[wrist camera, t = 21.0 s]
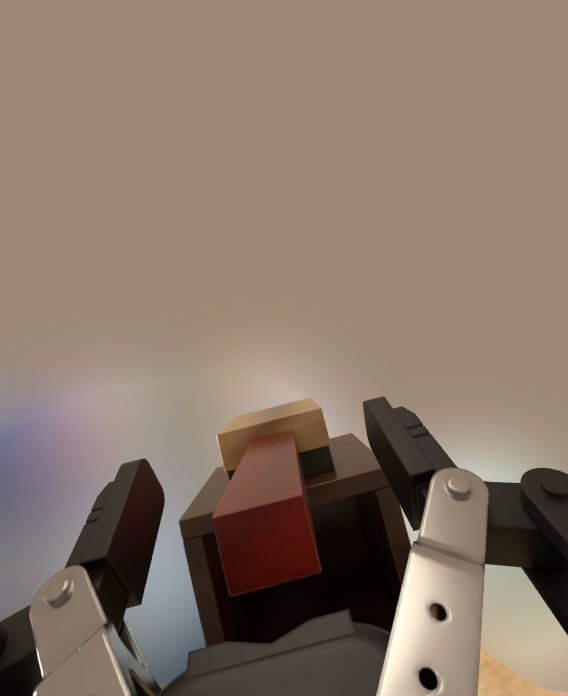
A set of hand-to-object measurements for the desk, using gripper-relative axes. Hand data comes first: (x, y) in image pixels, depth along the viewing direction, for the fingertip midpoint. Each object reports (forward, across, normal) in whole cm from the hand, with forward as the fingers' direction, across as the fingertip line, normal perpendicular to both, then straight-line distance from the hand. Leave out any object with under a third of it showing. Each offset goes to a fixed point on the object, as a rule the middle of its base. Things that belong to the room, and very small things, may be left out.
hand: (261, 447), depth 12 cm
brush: (+3, 0, -6) cm, 6 cm away
